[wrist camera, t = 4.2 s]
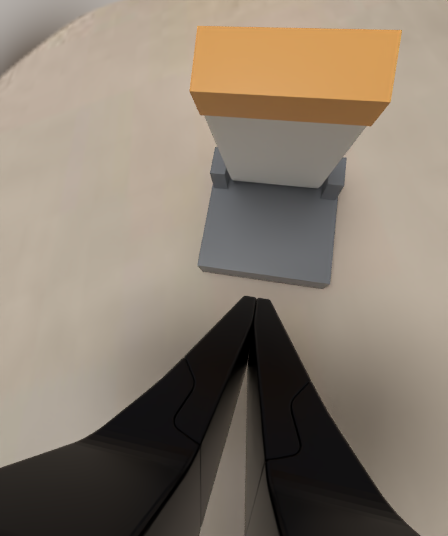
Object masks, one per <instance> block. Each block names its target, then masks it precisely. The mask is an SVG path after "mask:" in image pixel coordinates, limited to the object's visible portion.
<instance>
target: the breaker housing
mask: <svg viewBox="0 0 448 536" xmlns="http://www.w3.org/2000/svg"><path fill="white" fill-rule="evenodd" d="M345 170H346V158H342V159H341V160H340V162H339V163H338V164H337V165H336V167H335V168H334V169H333V171H332V172H331V173H330V175H329V176H328V177H327V179H326V180H325V181H324V182H323V184H322V185H321V186H320V187H319V188H318V189H317V188H307V187H297V186H286V185H276V184H266V183H255V182H245V181H235V180H232V179H231V177H230V175H229V173H228V170H227V168H226V166H225V163H224V161H223V159H222V156H221V154H220V152H219V149H218V147H215V151H214V156H213V161H212V166H211V171H210V174H211V178H212V182H213V186H212V192H211V197H210V202H209V207H208V212H207V218H206V223H205V228H204V233H203V239H202V244H201V249H200V254H199V259H198V267H199V268H200V269H201V270H202V271H203V272H210V273H217V274H224V275H231V276H238V277H245V278H252V279H259V280H266V281H273V282H280V283H287V284H293V285H300V286H307V287H314V288H321V289H323V288H325V287H326V286H328V285H329V284H330V279H331V268H332V257H333V246H334V234H335V223H336V212H337V201H338V195H339V193H340V192H341V190H342V188H343V187H344V181H345Z"/></svg>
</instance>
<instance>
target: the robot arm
mask: <svg viewBox="0 0 448 536" xmlns="http://www.w3.org/2000/svg"><path fill="white" fill-rule="evenodd" d="M248 357H249V358H248ZM247 362H248V368H247V419H246V479H245V536H420V535H419V534H418V533H417V532H416V531H414V530H413V529H412V528H411V527H410V526H409V525H408V524H407V523H406V522H405V521H404V520H403V519H402V518H401V517H400V516H399V515H398V514H397V513H396V512H395V511H394V509H393V508H392V507H391V506H390V505H389V503H388V502H387V501H386V500H385V498H384V497H383V496H382V494H381V493H380V491H379V490H378V488H377V487H376V485H375V484H374V482H373V481H372V479H371V478H370V476H369V475H368V473H367V472H366V470H365V469H364V467H363V466H362V464H361V463H360V461H359V460H358V458H357V457H356V455H355V453H354V452H353V450H352V449H351V447H350V446H349V444H348V443H347V441H346V440H345V438H344V437H343V435H342V434H341V432H340V431H339V429H338V427H337V426H336V424H335V423H334V421H333V419H332V418H331V416H330V415H329V413H328V411H327V409H326V408H325V406H324V404H323V402H322V400H321V398H320V397H319V395H318V393H317V391H316V389H315V387H314V385H313V383H312V382H311V379H310V377H309V375H308V373H307V372H306V370H305V368H304V366H303V364H302V362H301V360H300V358H299V356H298V354H297V352H296V350H295V348H294V346H293V344H292V342H291V340H290V338H289V336H288V334H287V332H286V330H285V328H284V326H283V324H282V322H281V320H280V318H279V317H278V315H277V313H276V311H275V309H274V307H273V305H272V303H271V301H270V300H269V299H263V298H258V299H256V298H255V297H250V296H244V297H242V298H241V299H240V300H239V301H238V303H237V304H236V305H235V306H234V307H233V308H232V309H231V310H230V311H229V312H228V313H227V314H226V315H225V316H224V317H223V318H222V319H221V320H220V321H219V322H218V323H217V324H216V325H215V326H214V327H213V328H212V329H211V330H210V331H209V332H208V333H207V334H206V335H205V336H204V337H203V338H202V339H201V340H200V341H199V342H198V343H197V344H196V345H195V346H194V347H193V348H192V349H191V350H190V351H189V352H188V353H187V354H186V355H185V357H184V358H182V359H181V360H180V361H179V362H178V363H177V364H176V365H175V366H174V367H173V368H172V369H171V370H170V371H169V372H168V373H167V374H166V375H165V376H164V377H163V378H162V379H161V380H159V381H158V382H157V383H156V384H155V385H153V386H152V387H151V388H150V389H149V390H148V391H146V392H145V393H144V394H143V395H141V396H140V397H139V398H138V399H136V400H135V401H134V402H133V403H131V404H130V405H129V406H128V407H126V408H125V409H124V410H123V411H121V412H120V413H119V414H118V415H116V416H115V417H114V418H113V419H111V420H110V421H109V422H108V423H106V424H105V425H104V426H102V427H101V428H100V429H98V430H97V431H95V432H94V433H92V434H91V435H89V436H87V437H85V438H83V439H81V440H79V441H77V442H75V443H72V444H69V445H66V446H63V447H60V448H57V449H54V450H51V451H48V452H46V453H43V454H40V455H37V456H34V457H31V458H28V459H25V460H22V461H19V462H16V463H13V464H10V465H7V466H5V467H2V468H0V536H199V534H200V528H201V526H202V523H203V519H204V516H205V512H206V509H207V505H208V502H209V498H210V495H211V491H212V488H213V484H214V481H215V477H216V473H217V470H218V466H219V463H220V459H221V456H222V452H223V449H224V445H225V442H226V438H227V435H228V431H229V428H230V424H231V421H232V417H233V414H234V410H235V407H236V403H237V399H238V396H239V392H240V389H241V385H242V382H243V378H244V375H245V371H246V367H247Z"/></svg>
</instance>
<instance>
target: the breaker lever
mask: <svg viewBox="0 0 448 536" xmlns="http://www.w3.org/2000/svg"><path fill="white" fill-rule="evenodd" d="M401 33H402V30H367V29H318V28H269V27H220V26H197V35H196V43H195V51H194V59H193V67H192V75H191V83H190V93H191V96H192V98H193V100H194V102H195V105H196V107H197V109H198V111H199V113H200V115H204V116H205V119H206V121H207V123H208V126H209V128H210V130H211V133H212V135H213V137H214V140H215V142H216V144H217V147H218V149H219V152H220V154H221V156H222V159H223V161H224V163H225V166H226V168H227V170H228V173H229V175H230V177H231V179H232V180H235V181H245V182H255V183H266V184H276V185H286V186H297V187H307V188H317V189H318V188H319V187H320V186H321V185H322V184H323V182H324V181H325V180H326V179H327V177H328V176H329V175H330V173H331V172H332V171H333V169H334V168H335V167H336V165H337V164H338V163H339V162H340V160H341V159H342V158H343V156H344V155H345V154H346V152H347V151H348V150H349V149H350V147H351V146H352V145H353V143H354V142H355V141H356V139H357V138H358V137H359V135H360V134H361V133H362V132H363V130H364V129H365V128H366V126H372V125H373V123H374V122H375V121H376V120H377V118H378V117H379V116H380V115H381V113H382V112H383V111H384V110H385V108H386V107H387V106H388V105H389V103H390V102H391V96H392V90H393V83H394V77H395V71H396V64H397V58H398V52H399V46H400V39H401Z"/></svg>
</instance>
